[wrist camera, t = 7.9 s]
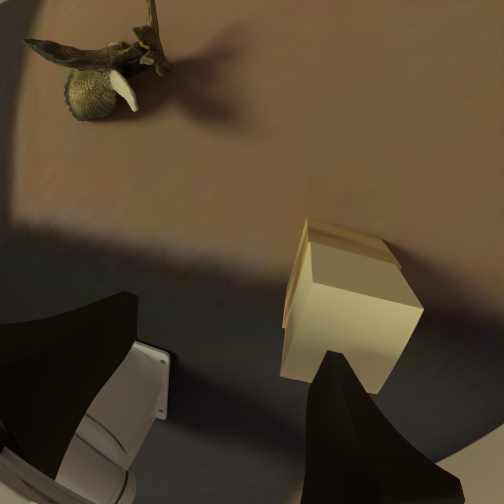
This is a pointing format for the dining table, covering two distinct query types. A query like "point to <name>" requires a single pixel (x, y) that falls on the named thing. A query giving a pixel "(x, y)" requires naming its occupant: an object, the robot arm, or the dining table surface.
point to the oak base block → (336, 239)
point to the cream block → (348, 316)
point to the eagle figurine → (105, 69)
